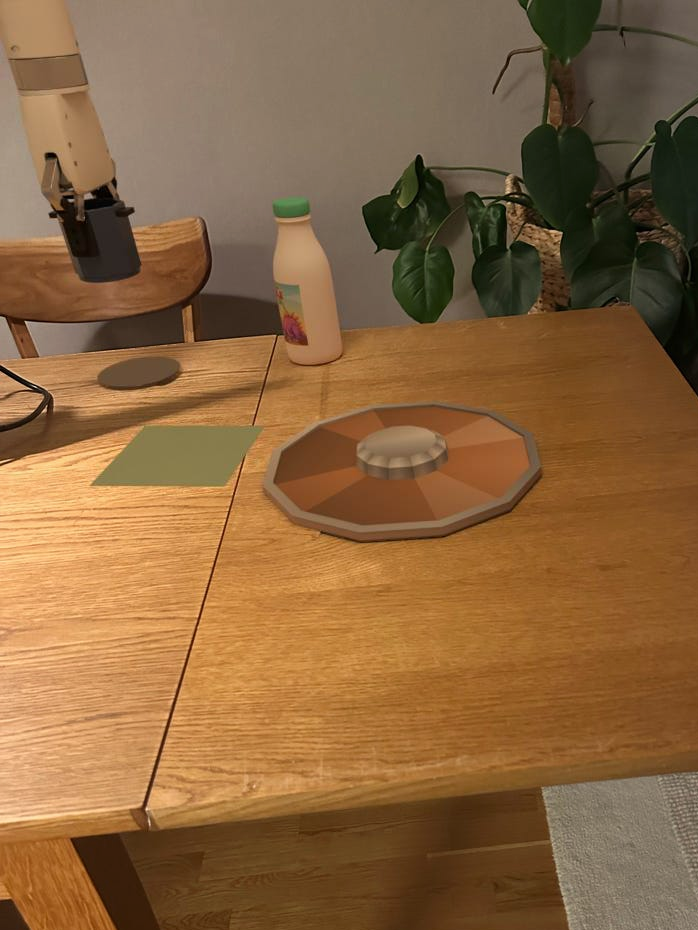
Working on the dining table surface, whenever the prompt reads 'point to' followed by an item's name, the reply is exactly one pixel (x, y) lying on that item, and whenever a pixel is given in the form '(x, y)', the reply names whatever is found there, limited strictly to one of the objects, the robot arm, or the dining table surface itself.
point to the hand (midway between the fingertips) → (101, 246)
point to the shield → (402, 471)
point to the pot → (107, 242)
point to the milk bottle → (304, 287)
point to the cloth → (180, 456)
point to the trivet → (139, 373)
